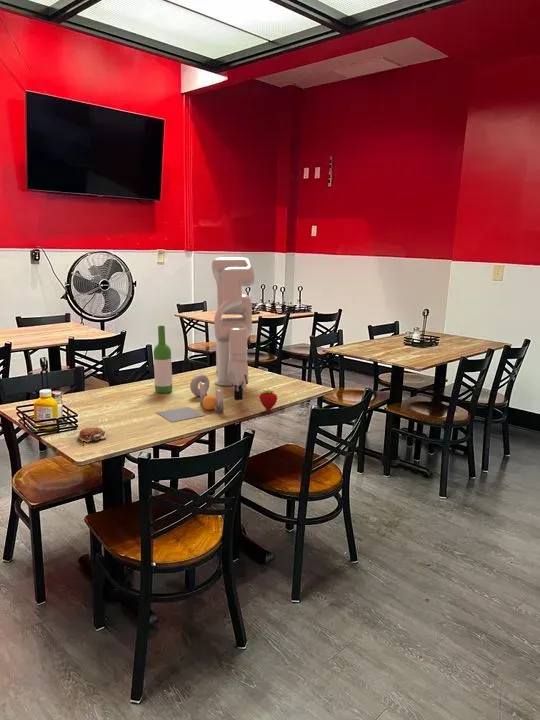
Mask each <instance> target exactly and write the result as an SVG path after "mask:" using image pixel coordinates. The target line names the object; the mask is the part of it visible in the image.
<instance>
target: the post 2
mask: <svg viewBox="0 0 540 720" xmlns="http://www.w3.org/2000/svg"><path fill="white" fill-rule="evenodd" d="M215 398H216V407H215V412H216V413H217V414H223V413H224V390H223V389H216V390H215Z"/></svg>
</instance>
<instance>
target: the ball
mask: <svg viewBox="0 0 540 720" xmlns="http://www.w3.org/2000/svg"><path fill="white" fill-rule="evenodd" d="M202 404H203V405H202V406H203V408H204V409H205V410H208V411H211V410H214V409H216V396H214V395H211V394H207V396H205V397H204V399H203V401H202Z"/></svg>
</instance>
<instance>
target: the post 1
mask: <svg viewBox="0 0 540 720" xmlns="http://www.w3.org/2000/svg"><path fill="white" fill-rule="evenodd" d="M199 389H200V396H199V398H200V399H199V403H200V406H203V404H202V401H203V399H204V397H205V396H207V395H208V391H207V383H202V382H199Z"/></svg>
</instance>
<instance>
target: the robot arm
mask: <svg viewBox="0 0 540 720" xmlns="http://www.w3.org/2000/svg"><path fill="white" fill-rule="evenodd" d="M211 270H212V275H213V277H214V279H215V284H216V288H217V289H216V290H217V291H216V292H217V295H216V297H217V299H216V300H217V310H216V311H215V314H214V317H213V318H214V319H213V324H214V327H213V328H214V336H215V340H216V344H217V362H218V372H217V378H215V379H214V384H215V385H217V386H225V387H228V386H229V387H231V386H232V387H233V395H234V396H233V397H234V400H235V401H237V402H238V401H243V399H244V397H243V395H244V393H243V392H244V390H245V389H247V387H248V386H247V385H248V384H249V366H248V365H249V364H248V338H249V337H250V336H251V335H252V331H253V328H252V327H253V313H252V312H253V310H252V309H253V308H252V299H251V297H250V296H249V295H247V294H243V291H242V289H243V287H253V286H254V283H255V272H254V268H253V264H252V262H251V260H250V259H249V258H247V257H227V256H226V257H217V258H214V259H213V260H212V262H211ZM225 315H226V316H231V315H232V316H235V315H237V316H239V315H240V316H241V317H223V316H225Z"/></svg>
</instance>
